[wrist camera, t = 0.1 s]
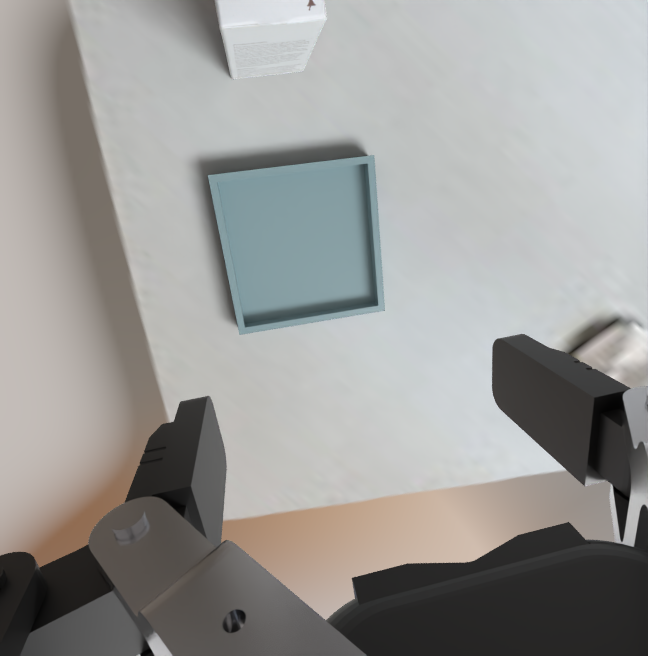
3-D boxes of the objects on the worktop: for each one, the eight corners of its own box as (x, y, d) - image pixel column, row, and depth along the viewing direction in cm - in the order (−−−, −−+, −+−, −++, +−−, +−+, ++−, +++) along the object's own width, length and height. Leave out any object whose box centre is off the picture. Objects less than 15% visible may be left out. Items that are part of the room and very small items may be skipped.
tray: (209, 175, 36) (207, 175, 34) (368, 156, 37) (374, 155, 36) (239, 328, 41) (239, 334, 39) (379, 305, 42) (384, 310, 41)
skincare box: (295, 10, 33) (319, -76, 22) (303, 72, 34) (330, 21, 23) (217, 18, 32) (201, -68, 21) (229, 81, 34) (220, 32, 23)
